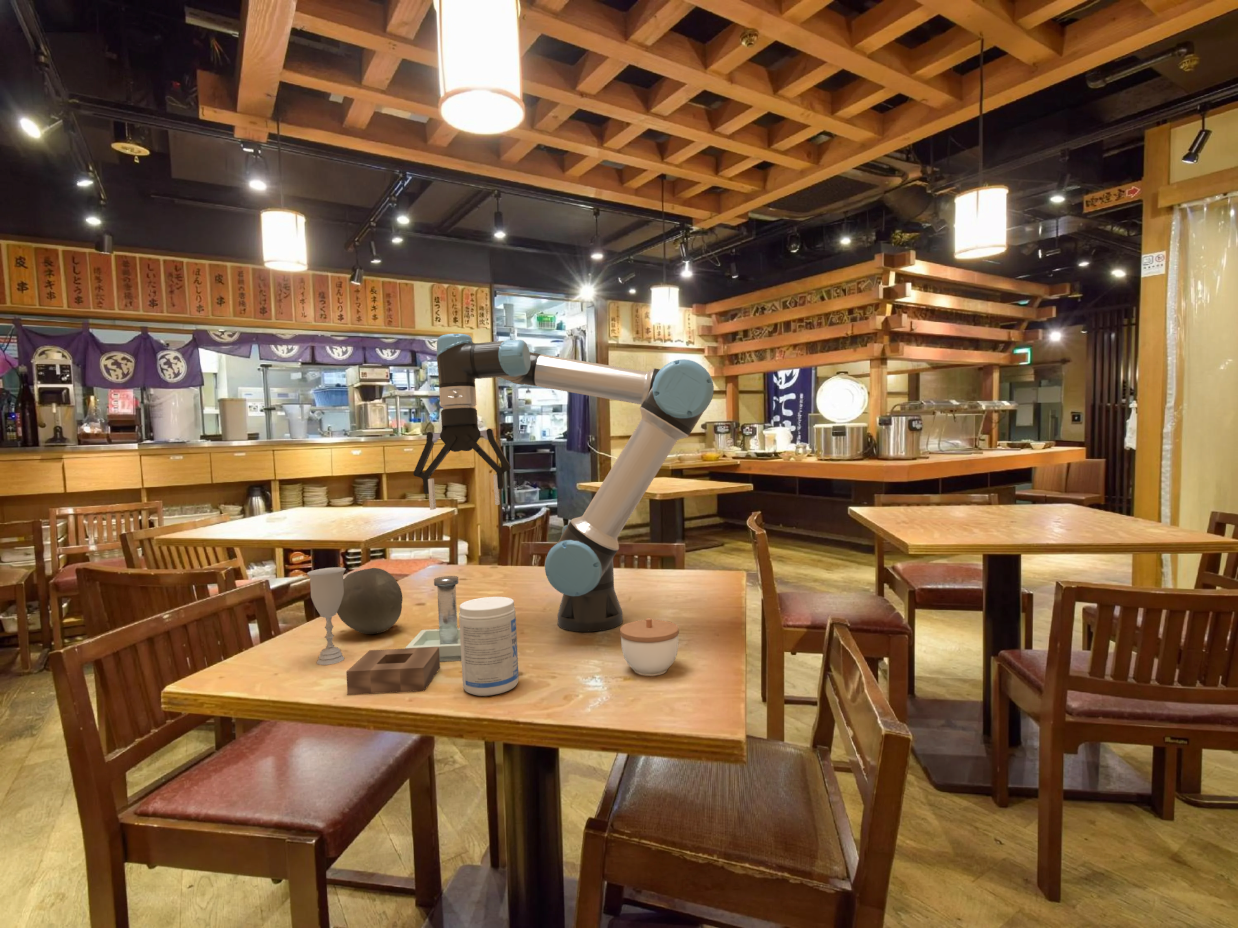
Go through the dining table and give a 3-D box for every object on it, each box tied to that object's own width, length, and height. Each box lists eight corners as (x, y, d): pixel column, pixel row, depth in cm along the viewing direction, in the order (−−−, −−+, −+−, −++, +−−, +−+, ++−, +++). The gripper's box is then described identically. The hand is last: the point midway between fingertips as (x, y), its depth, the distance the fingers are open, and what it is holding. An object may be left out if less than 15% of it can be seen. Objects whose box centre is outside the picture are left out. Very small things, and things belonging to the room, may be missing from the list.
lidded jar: (611, 665, 115) (610, 615, 115) (662, 656, 119) (661, 608, 119) (636, 685, 105) (635, 630, 105) (691, 674, 109) (689, 621, 109)
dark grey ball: (372, 622, 150) (369, 561, 149) (417, 628, 144) (414, 564, 143) (322, 640, 137) (319, 573, 137) (369, 647, 131) (366, 577, 131)
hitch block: (440, 667, 117) (439, 646, 117) (424, 690, 106) (423, 667, 106) (370, 671, 116) (369, 650, 116) (347, 694, 105) (346, 671, 105)
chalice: (333, 667, 119) (329, 575, 119) (302, 666, 120) (298, 574, 120) (357, 654, 126) (353, 567, 126) (327, 653, 128) (323, 567, 127)
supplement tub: (528, 688, 105) (524, 602, 105) (475, 702, 100) (471, 613, 100) (504, 672, 113) (501, 593, 113) (454, 685, 108) (450, 601, 108)
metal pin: (463, 642, 129) (460, 575, 129) (458, 649, 124) (455, 579, 124) (440, 643, 129) (437, 576, 129) (434, 650, 124) (431, 580, 124)
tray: (488, 640, 133) (487, 626, 133) (477, 659, 121) (477, 644, 121) (422, 643, 132) (421, 629, 132) (405, 663, 120) (404, 647, 120)
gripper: (394, 410, 127) (401, 512, 127) (516, 403, 130) (523, 504, 130) (402, 412, 134) (409, 509, 135) (518, 406, 137) (524, 501, 138)
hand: (465, 506), depth 132 cm, fingers open, 13 cm apart
